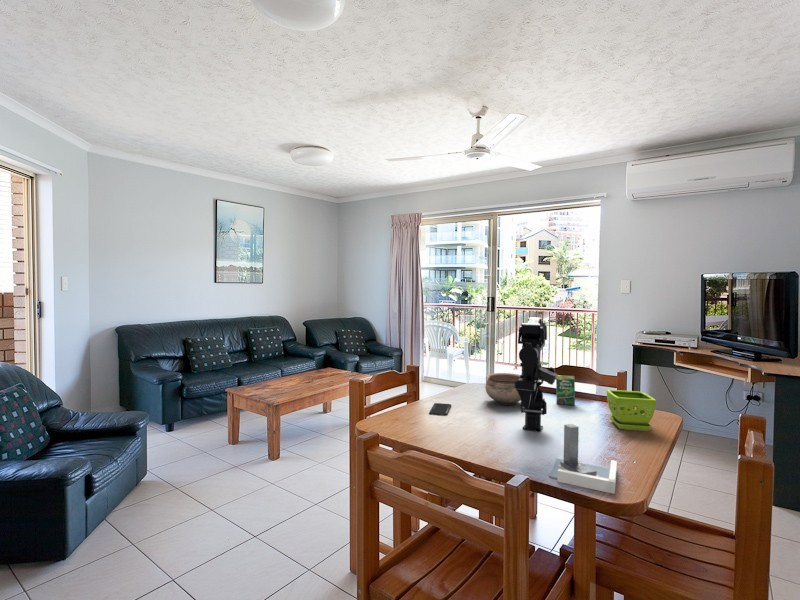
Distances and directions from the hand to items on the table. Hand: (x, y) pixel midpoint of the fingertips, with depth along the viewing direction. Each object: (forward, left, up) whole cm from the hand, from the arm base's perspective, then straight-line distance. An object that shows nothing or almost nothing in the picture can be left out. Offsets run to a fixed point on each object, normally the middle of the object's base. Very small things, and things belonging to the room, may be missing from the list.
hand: (529, 405), depth 144 cm
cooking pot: (-46, -20, -13) cm, 52 cm away
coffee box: (-58, +4, -13) cm, 60 cm away
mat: (+17, +18, -13) cm, 28 cm away
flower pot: (-37, +30, -13) cm, 49 cm away
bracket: (+16, +17, -13) cm, 27 cm away
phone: (-21, -42, -14) cm, 49 cm away
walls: (+18, +20, -13) cm, 30 cm away
